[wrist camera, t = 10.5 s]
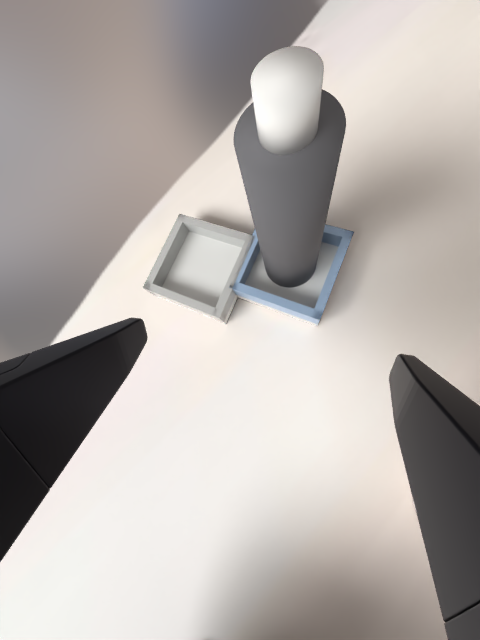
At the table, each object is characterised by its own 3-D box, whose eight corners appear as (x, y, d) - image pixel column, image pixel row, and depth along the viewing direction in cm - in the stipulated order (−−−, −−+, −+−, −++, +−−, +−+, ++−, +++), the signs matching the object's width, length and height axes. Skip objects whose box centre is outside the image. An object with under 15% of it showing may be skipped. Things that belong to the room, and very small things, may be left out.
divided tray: (305, 356, 22) (307, 353, 19) (155, 296, 26) (142, 287, 23) (347, 246, 23) (353, 231, 21) (199, 205, 27) (191, 189, 25)
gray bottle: (296, 297, 22) (303, 151, 8) (255, 270, 23) (196, 103, 9) (326, 256, 22) (388, 42, 8) (284, 232, 24) (271, 10, 9)
